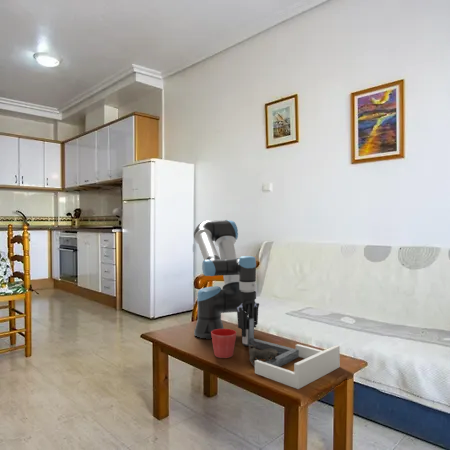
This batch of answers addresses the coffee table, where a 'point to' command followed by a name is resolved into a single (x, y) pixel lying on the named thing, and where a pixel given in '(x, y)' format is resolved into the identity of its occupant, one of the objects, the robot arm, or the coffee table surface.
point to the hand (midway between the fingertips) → (248, 342)
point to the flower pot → (223, 342)
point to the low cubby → (303, 366)
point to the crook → (284, 352)
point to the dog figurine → (261, 354)
